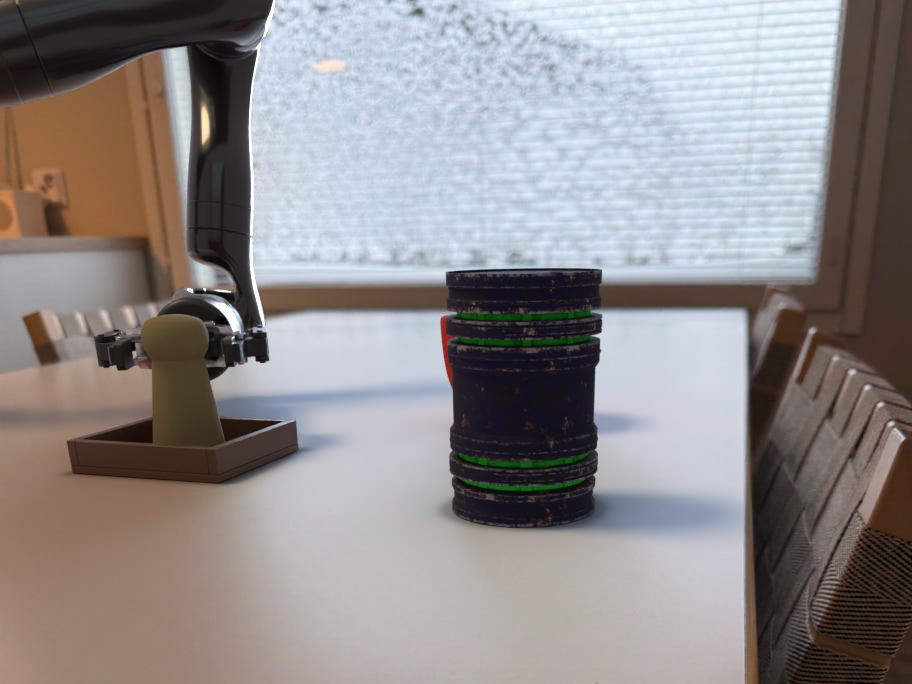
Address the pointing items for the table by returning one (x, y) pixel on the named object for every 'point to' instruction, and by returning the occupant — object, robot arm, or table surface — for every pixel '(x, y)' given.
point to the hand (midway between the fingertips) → (174, 355)
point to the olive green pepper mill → (181, 382)
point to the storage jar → (523, 394)
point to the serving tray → (183, 451)
